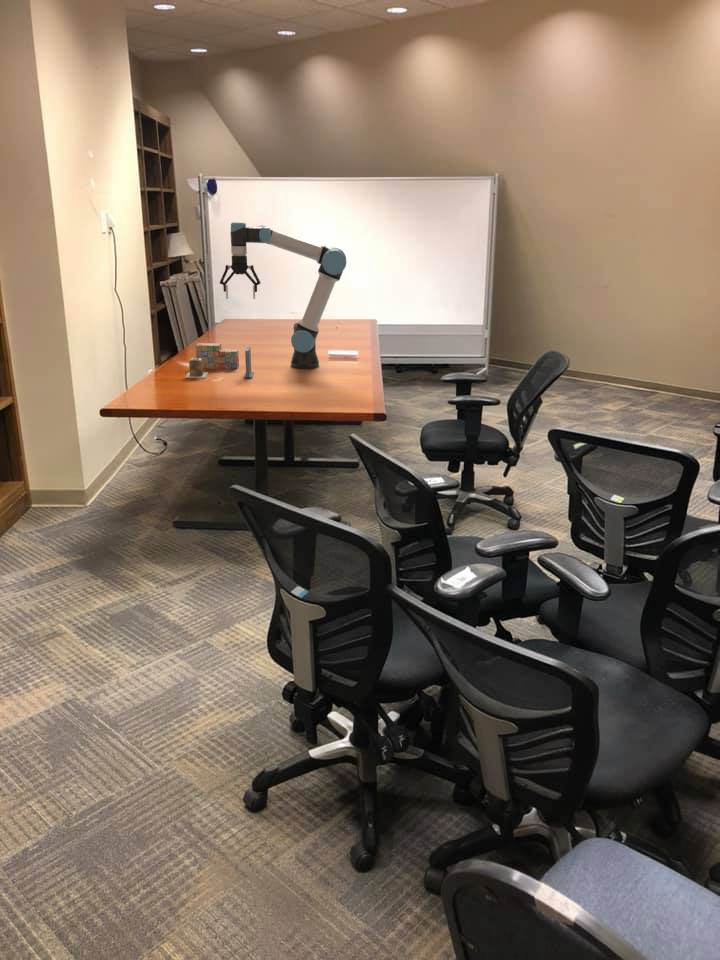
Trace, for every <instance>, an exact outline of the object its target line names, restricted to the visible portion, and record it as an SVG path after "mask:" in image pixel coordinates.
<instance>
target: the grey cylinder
mask: <svg viewBox="0 0 720 960" xmlns="http://www.w3.org/2000/svg"><path fill="white" fill-rule="evenodd" d="M188 366H189V367H188V369H189V372H190V376H202V375H203V374H204V372H205V371H204V370H205V368H203V359H202V358H196V357H191V358H190V359H189V360H188Z"/></svg>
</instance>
